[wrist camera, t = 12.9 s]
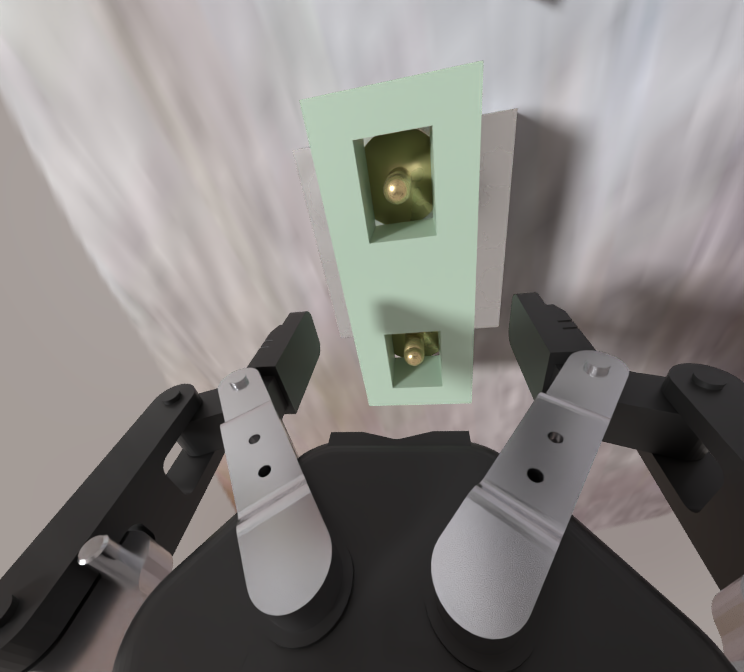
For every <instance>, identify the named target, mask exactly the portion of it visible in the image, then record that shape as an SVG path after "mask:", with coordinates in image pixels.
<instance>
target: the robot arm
mask: <svg viewBox="0 0 744 672" xmlns="http://www.w3.org/2000/svg"><path fill="white" fill-rule="evenodd" d="M509 341H510V345H511V348H512V350H513V352H514V355H515V357H516V359H517V362H518V364H519V366H520V369H521V371H522V373H523V376H524V378H525V380H526V383H527V385H528V387H529V390H530V392H531V394H532V397H533V399H534V402H533V403H532V405H531V406H530V408H529V409H528V411H527V413H526V414H525V416H524V417H523V419H522V420H521V422H520V423H519V425H518V426H517V428H516V429H515V431H514V433H513V434H512V436H511V437H510V439H509V440H508V442H507V443H506V445H505V446H504V448H503V449H502V451H501V452H500V453H498V452H496V451H495V450H492V449H490V448H488V447H485V446H482V445H479V444H476V443H472V442H471V441H470V435H469V431H432V432H428V433H424V434H419V435H415V436H411V437H406V438H402V439H391V438H387V437H383V436H378V435H374V434H369V433H365V432H331V435H330V439H329V443H327V444H324V445H321V446H318V447H316V448H314V449H311V450H309V451H308V452H306V453H304V454H303V455H301V456H300V457H299V456H298V454H297V452H296V450H295V447H294V445H293V443H292V441H291V439H290V436H289V434H288V432H287V430H286V428H285V425H284V423H283V421H282V418H283V416H284V414H296V413H297V410H298V408H299V405H300V403H301V400H302V398H303V395H304V393H305V390H306V388H307V385H308V383H309V380H310V378H311V375H312V373H313V370H314V368H315V365H316V363H317V360H318V358H319V355H320V342H319V339H318V335H317V332H316V329H315V326H314V323H313V320H312V316H311V314H310V313H309V312H308V311H305V312H294V313H290V314H289V315H288V317H287V318H286V320H285V321H284V323H283V325H279V326H278V327H277V328H275V329H274V330H273V331H272V332H270V334H269V335H268V337H267V338H266V340H265V342H264V343H263V344H262V346H261V348H260V349H259V350H258V352H257V353H256V355H255V356H254V358H253V359H252V361H251V362H250V364H249V365H248V367H247V368H243V369H239V370H236V371H234V372H232V373H230V374H229V375H227V376H226V377H225V378H224V379H223V380H222V381H221V382H220V384H219V386H218V388H217V389H214V390H210V391H206V392H203V393H199V394H198V392H197V391H196V389H195V388H194V386H193V385H191V384H181V385H177V386H174V387H172V388H170V389H168V390H166V391H164V392H163V393H162V394H160V395H159V396H158V397H157V398H156V399H155V400H154V401H153V402H152V403H151V404H150V406H149V407H148V408H147V409H146V410H145V411H144V413H143V414H142V415H141V416H140V417H139V418H138V419H137V421H136V422H135V423H134V424H133V425H132V426H131V428H130V429H129V430H128V431H127V433H125V435H124V436H123V437H122V438H121V439H120V441H119V442H118V443H117V444H116V445H115V446H114V447H113V449H112V450H111V451H110V452H109V453H108V455H107V456H106V457H105V458H104V459H103V460H102V461H101V463H100V464H99V465H98V466H97V467H96V468H95V470H94V471H93V472H92V473H91V474H90V475H89V477H88V478H87V479H86V480H85V481H84V482H83V484H82V485H81V486H80V487H79V488H78V489H77V491H76V492H75V493H74V494H73V495H72V497H71V498H70V499H69V500H68V501H67V502H66V504H65V505H64V506H63V507H62V508H61V509H60V510H59V512H58V513H57V514H56V515H55V516H54V518H53V519H52V520H51V521H50V522H49V523H48V525H47V526H46V527H45V528H44V529H43V531H42V532H41V533H40V534H39V535H38V536H37V537H36V538H35V540H34V541H33V542H32V543H31V544H30V545H29V547H28V548H27V549H26V550H25V551H24V552H23V554H22V555H21V556H20V557H19V558H18V559H17V561H16V562H15V563H14V564H13V565H12V567H11V568H10V569H9V570H8V571H7V572H6V573H5V575H4V576H3V577H2V578H1V579H0V672H744V383H743V382H742V381H741V380H740V379H738V378H737V377H735V376H733V375H732V374H730V373H728V372H725V371H723V370H720V369H717V368H714V367H711V366H707V365H702V364H692V363H686V364H678V365H676V366H674V367H672V368H671V369H670V370H669V372H668V374H667V376H666V377H663V376H656V375H649V374H642V373H636V372H631V371H629V369H628V367H627V366H626V364H625V363H624V362H623V361H621V360H620V359H618V358H617V357H615V356H613V355H610V354H607V353H604V352H600V351H596V350H595V349H594V347H593V346H592V345H591V343H590V342H589V341H588V340H587V338H586V337H585V336H584V335H583V333H582V332H581V331H580V330H579V329H577V326H576V324H575V323H574V322H572V319H571V318H570V317H569V316H568V314H567V313H566V312H565V311H564V310H562V309H560V308H558V307H557V306H555V305H553V304H551V305H546V304H545V303H544V302H543V300H542V299H541V297H540V296H539V295H538V293H536V292H534V293H523V294H514V295H513V298H512V305H511V314H510V323H509ZM176 441H177V442H178V444H179V445H180V446H181V447H182V448H183V449H182V451H181V452H180V454H179V456H178V457H177V459H176V460H175V462H174V463H173V465H172V466H171V468H170V470H169V471H168V473H167V474H165V473H164V470H163V464H164V460H165V458H166V456H167V454H168V453H169V452H170V450H171V448H172V447H173V446H174V444H175V443H176ZM602 441H603V442H607V443H611V444H615V445H620V446H624V447H628V448H632V449H637V451H638V453H639V455H640V456H641V458H642V460H643V461H644V463H645V465H646V466H647V468H648V470H649V471H650V473H651V475H652V476H653V478H654V480H655V481H656V483H657V485H658V486H659V488H660V490H661V492H662V493H663V495H664V497H665V498H666V500H667V502H668V503H669V505H670V507H671V508H672V510H673V512H674V513H675V515H676V517H677V518H678V520H679V521H680V523H681V525H682V527H683V528H684V530H685V532H686V533H687V535H688V537H689V539H690V540H691V542H692V544H693V545H694V547H695V548H696V550H697V552H698V554H699V555H700V557H701V559H702V560H703V562H704V564H705V565H706V567H707V569H708V570H709V572H710V574H711V575H712V577H713V579H714V581H715V582H716V584H717V585H718V587H719V589H720V592H719V593H717V594H716V595H715V597H714V599H713V601H712V614H713V619H714V622H715V624H716V626H717V629H718V631H719V634H720V636H721V639H722V643H723V650H724V653H723V652H722V651H721V650H720V649H719V648H718V646H716V644H715V643H714V642H713V641H712V640H711V639H710V638H709V637H708V636H707V635H706V634H705V633H704V632H703V631H702V630H701V629H700V628H699V627H698V626H697V625H696V624H695V623H694V622H693V621H692V620H691V619H689V618H688V617H687V616H686V615H685V614H684V613H682V612H681V610H679V609H678V608H677V607H676V606H675V605H674V604H672V603H671V602H670V601H669V600H668V599H667V598H666V597H665V596H664V595H662V594H661V593H660V592H659V591H658V590H657V589H656V588H654V587H653V586H652V585H651V584H650V583H649V582H648V581H647V580H645V579H644V578H643V577H642V576H640V574H639V573H638V572H636V571H635V570H634V569H633V568H632V567H631V566H630V565H628V564H627V563H626V562H625V561H624V560H623V559H622V558H621V557H619V556H618V555H617V554H616V553H615V552H613V550H612V549H610V548H609V547H608V546H607V545H606V544H605V543H604V542H602V541H601V540H600V539H599V538H598V537H597V536H596V535H594V534H593V533H592V532H591V531H590V530H589V529H588V528H587V527H586V526H584V525H583V524H582V523H581V522H580V521H579V520H578V519H577V518H575V517H574V516H573V515H572V512H573V510H574V507H575V505H576V503H577V500H578V498H579V495H580V493H581V490H582V488H583V486H584V483H585V481H586V478H587V476H588V473H589V471H590V468H591V466H592V464H593V461H594V459H595V456H596V454H597V451H598V449H599V446H600V444H601V442H602ZM709 451H710V452H709ZM224 453H225V454H226V459H227V464H228V469H229V474H230V479H231V484H232V489H233V493H234V498H235V503H236V508H237V513H236V514H235V515H234V516H233V517H232V518H231V519H229V520H228V521H227V522H226V523H225V524H224V525H223V526H222V527H220V528H219V529H218V530H217V531H216V532H215V533H214V534H213V535H212V536H210V537H209V538H208V539H207V540H206V541H205V542H204V543H203V544H202V545H200V546H199V547H198V548H197V549H196V550H195V551H194V552H193V553H192V554H191V555H189V556H188V557H187V558H186V559H185V560H184V561H183V562H182V563H181V564H180V565H178V566H177V567H176V568H175V569H174V570H173V571H172V567H173V558H172V556H173V554H174V552H175V550H176V548H177V546H178V544H179V542H180V540H181V538H182V536H183V534H184V532H185V530H186V528H187V527H188V525H189V523H190V521H191V519H192V517H193V515H194V513H195V511H196V509H197V506H198V505H199V503H200V501H201V499H202V497H203V495H204V493H205V491H206V489H207V487H208V485H209V483H210V481H211V479H212V477H213V475H214V473H215V471H216V469H217V467H218V465H219V463H220V461H221V459H222V457H223V455H224ZM713 456H714V457H713ZM717 461H718V462H717Z"/></svg>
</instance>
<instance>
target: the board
mask: <svg viewBox="0 0 744 672" xmlns="http://www.w3.org/2000/svg"><path fill="white" fill-rule="evenodd" d="M482 87H483V61H478V62H474V63H469V64H464V65H460V66H455V67H451V68H446V69H441V70H437V71H432V72H427V73H423V74H418V75H414V76H409V77H404V78H400V79H395V80H391V81H386V82H381V83H377V84H372V85H368V86H363V87H358V88H354V89H349V90H344V91H340V92H335V93H331V94H326V95H321V96H317V97H312V98H308V99H303V100H299V101H300V106H301V110H302V114H303V119H304V123H305V127H306V132H307V136H308V140H309V145H310V149H311V154H312V158H313V162H314V167H315V171H316V175H317V180H318V184H319V188H320V193H321V197H322V201H323V206H324V210H325V214H326V219H327V223H328V228H329V232H330V236H331V241H332V245H333V249H334V254H335V258H336V262H337V267H338V271H339V275H340V280H341V284H342V288H343V293H344V297H345V302H346V306H347V310H348V315H349V319H350V323H351V328H352V332H353V336H354V341H355V345H356V349H357V354H358V358H359V362H360V367H361V371H362V376H363V380H364V384H365V389H366V393H367V397H368V402H369V406H384V405H423V404H462V403H472V377H473V348H474V319H475V290H476V261H477V232H478V203H479V174H480V145H481V116H482ZM426 126H429V135H430V158H431V180H432V203H433V218H430V219H423V220H415V221H408V222H400V223H393V224H385V225H378V226H376V223H375V216H374V209H373V203H372V196H371V189H370V182H369V175H368V168H367V161H366V154H365V147H364V141H363V138H367V137H373V136H378V135H383V134H389V133H394V132H399V131H405V130H410V129H416V128H421V127H426ZM431 331H438V341H439V355H436V356H424V360H423V362H422V363H421V364H420V365H417V366H411V365H409V364H408V363H407V362H406V361H405V359H404V357H399V358H395V354H394V347H393V340H392V334H402V333H417V332H431Z"/></svg>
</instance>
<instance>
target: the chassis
mask: <svg viewBox="0 0 744 672" xmlns="http://www.w3.org/2000/svg"><path fill="white" fill-rule="evenodd" d="M517 109H518V108H516V109H509V110H504V111H499V112H493V113H488V114H483V115H482V116H481V145H480V174H479V203H478V232H477V261H476V290H475V319H474V328H489V327H499V317H500V306H501V294H502V283H503V271H504V259H505V248H506V236H507V225H508V213H509V201H510V190H511V178H512V167H513V155H514V143H515V132H516V120H517ZM363 141H364V147H365V154H366V161H367V168H368V175H369V182H370V189H371V196H372V203H373V209H374V216H375V223H376V226H378V225H385V224H393V223H400V222H408V221H415V220H423V219H430V218H433V203H432V180H431V158H430V135H429V126H426V127H421V128H416V129H410V130H405V131H399V132H394V133H389V134H383V135H378V136H373V137H367V138H363ZM292 152H293V156H294V159H295V163H296V167H297V171H298V175H299V179H300V183H301V186H302V190H303V194H304V198H305V202H306V206H307V210H308V213H309V217H310V221H311V225H312V229H313V233H314V237H315V240H316V244H317V248H318V252H319V256H320V260H321V263H322V267H323V271H324V275H325V279H326V283H327V287H328V290H329V294H330V298H331V302H332V306H333V310H334V314H335V317H336V321H337V325H338V329H339V333H340V337H341V338H342V337H354V336H353V332H352V328H351V323H350V319H349V315H348V310H347V306H346V302H345V297H344V293H343V288H342V284H341V280H340V275H339V271H338V267H337V262H336V258H335V254H334V249H333V245H332V241H331V236H330V232H329V228H328V223H327V219H326V214H325V210H324V206H323V201H322V197H321V193H320V188H319V184H318V180H317V175H316V171H315V167H314V162H313V158H312V154H311V149H310V147H307V148H301V149H297V150H292ZM392 340H393V347H394V354H396V355H398V356H400V357H404V359H405V361H406V362H407V363H408V364H409V365H411V366H417V365H420V364H421V363H422V362H423V360H424V356H431V355H433V354H435V353H437V352H438V351H439V341H438V331H431V332H417V333H402V334H392Z"/></svg>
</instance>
